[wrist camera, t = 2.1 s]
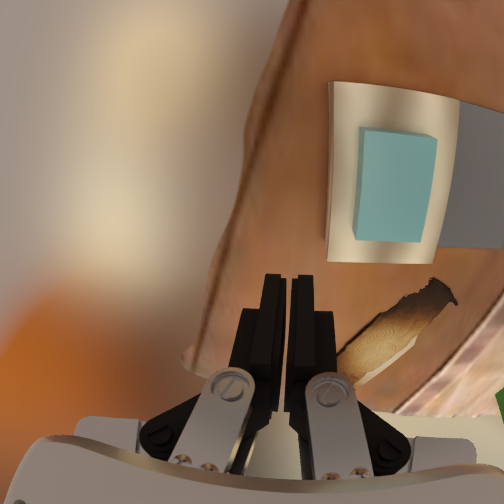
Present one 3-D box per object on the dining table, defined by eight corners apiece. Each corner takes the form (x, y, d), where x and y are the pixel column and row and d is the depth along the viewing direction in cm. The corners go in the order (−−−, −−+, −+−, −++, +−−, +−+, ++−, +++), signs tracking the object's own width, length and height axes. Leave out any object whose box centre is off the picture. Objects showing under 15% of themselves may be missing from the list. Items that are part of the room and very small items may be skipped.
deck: (440, 96, 21) (459, 100, 17) (419, 243, 29) (431, 263, 26) (328, 81, 22) (333, 81, 19) (324, 240, 31) (327, 261, 27)
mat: (526, 122, 19) (528, 122, 18) (499, 247, 27) (501, 249, 27) (444, 97, 21) (446, 97, 20) (423, 243, 29) (425, 245, 29)
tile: (427, 134, 20) (437, 139, 18) (413, 231, 24) (420, 242, 23) (359, 126, 20) (364, 130, 19) (352, 228, 25) (355, 240, 24)
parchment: (351, 391, 45) (352, 395, 45) (305, 376, 44) (305, 380, 43) (462, 296, 32) (464, 300, 32) (420, 266, 31) (422, 270, 30)
